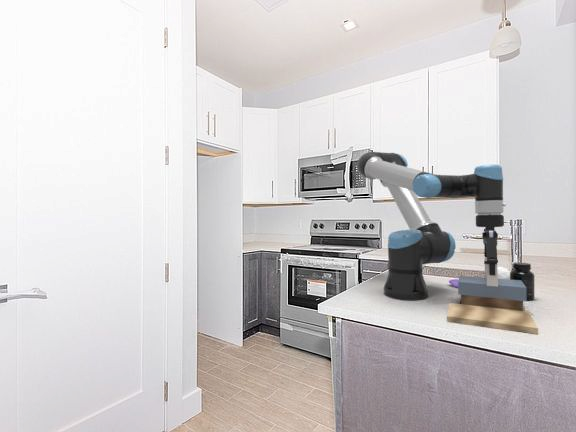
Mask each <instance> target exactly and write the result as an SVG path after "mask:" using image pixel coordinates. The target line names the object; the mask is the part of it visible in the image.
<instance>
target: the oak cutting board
mask: <svg viewBox="0 0 576 432" xmlns="http://www.w3.org/2000/svg"><path fill="white" fill-rule="evenodd" d="M446 318H447V322H449V323H455V324H462V325H469V326H476V327H483V328H489V329H499V330H503V331H504V330H505V331H512V332H518V333H527V334H535V335H539V327H538V326H537V324H536V322H535V320H534V319H533V317H532V315H531V313H530V312H529V311H524V310H523V311H516V310H508V309H499V308H490V307H481V306H472V305H464V304H461V303H454V302H449V306H448V312H447V317H446Z"/></svg>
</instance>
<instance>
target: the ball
mask: <svg viewBox="0 0 576 432" xmlns="http://www.w3.org/2000/svg"><path fill="white" fill-rule="evenodd" d="M497 270H498V279H509V280H510V272H511V271H510V270H509V269H508V268H507V267H503V266H497Z"/></svg>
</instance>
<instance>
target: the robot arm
mask: <svg viewBox="0 0 576 432" xmlns="http://www.w3.org/2000/svg"><path fill="white" fill-rule="evenodd" d="M356 169H357V171H358V174H359V175H360V176H361V177H363V178H366V179H369V180H372V181H373V180H379V181H380V184H381V185H382V186H383V187H385V188H387V189H388V191H389V193H390V195H391V196H392V198H393V200H394V202H395V204H396V206H397V208H398V210H399V212H400V213H401V215H402V217H403V219H404V221H405V223H406V225H407V226H408V228H409V229H402V230H397V231H393V232H391V233H390V234H389V235H388V240H387V254H388V274H387V277H386V280H385V283H384V286H383V294H384V296H386V297H389V298H393V299H397V300H406V301H407V300H408V301H417V300H424V299H426V298H428V297H429V289H428V287H427V284H426V282H425V278H424V275H423V265H428V264H441V263H442V262H443V263H445V262H447V261H449V260H450V259H452V257H454V255H455V250H456V240H455V238H454V236H453V234H451V233H450V232H447V231H444V230H442V229H441V227H440V225H439V224H438V222H434V221H432V220H431V218H430V217H429V215H428V214H427V211H426V210H425V208H424V207H423V204H422V203H421V201H420V200H419V197H420V198H424V199H432V198H434V199H436V198H437V199H438V198H439V199H440V198H441V199H442V198H444V199H445V198H446V199H458V198H459V199H460V198H469V197H473V198H474V200H475V201H474V208H475V209H474V210H475V211H474V213H475V214H477V215H476V216H475V226H476V227H477V228H484V229H483V232H481V233H482V239H483V240H482V241H483V242H482V243H483V245H484V251H483V255H484V261H483V264H484V278H487V286H497V287H498V270H497V267H498V263H499V260H498V250H497V248H498V247H497V246H498V238H499V237H498V236H499V234H498V232H497V231H496V228H502V227H504V226H505V218H504V215H503V213H504V207H506V203H505V202H504V176H503V167H502V166H501V165H499V164H485V165H484V164H483V165H478V166H475V168H474V171H473V173H471V174H463V175H456V174H455V175H449V174H435V173H431V172H426V171H423V170H419V169H416V168H412V167H409V164H408V161H407V159H406V157H404V155H402V154H400V153H396V152H380V151H369V152H366V153H364V154H362V155H361V156H360V157H359V158H358V160H357V164H356Z"/></svg>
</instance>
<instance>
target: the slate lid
mask: <svg viewBox="0 0 576 432" xmlns="http://www.w3.org/2000/svg"><path fill="white" fill-rule="evenodd" d="M457 289H458V290H457V291H458V293H457V295H460V296H461V295H468V296H478V297H488V298H498V299H508V300H518V301H523V302H527V301H526V286H525V285H524V284H523V282H522V281H521V280H509V279H498V287H497V286H487V278H486V277H480V276H468V275H459V276H458V288H457Z"/></svg>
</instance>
